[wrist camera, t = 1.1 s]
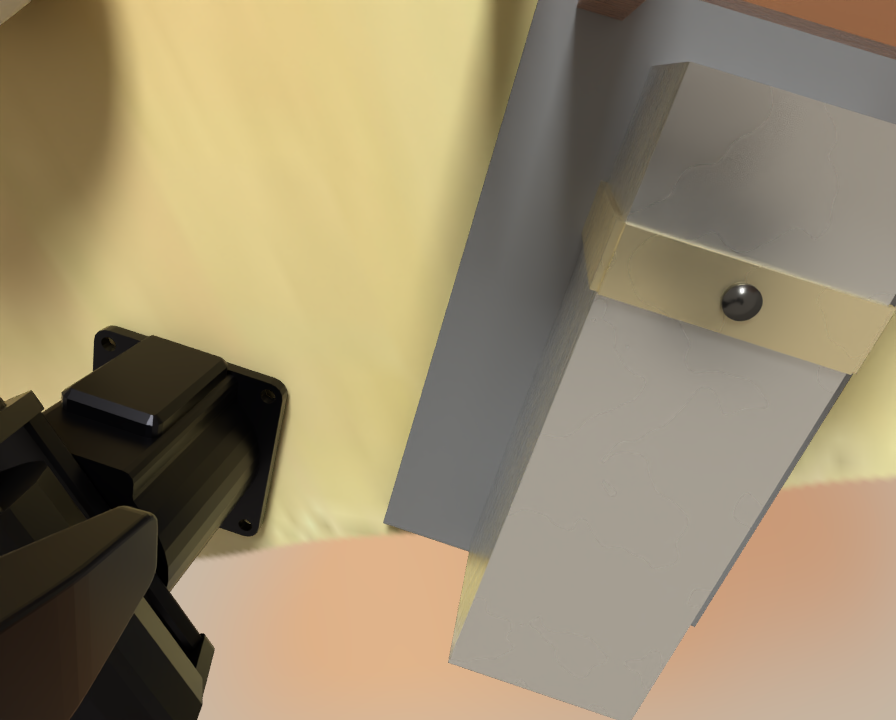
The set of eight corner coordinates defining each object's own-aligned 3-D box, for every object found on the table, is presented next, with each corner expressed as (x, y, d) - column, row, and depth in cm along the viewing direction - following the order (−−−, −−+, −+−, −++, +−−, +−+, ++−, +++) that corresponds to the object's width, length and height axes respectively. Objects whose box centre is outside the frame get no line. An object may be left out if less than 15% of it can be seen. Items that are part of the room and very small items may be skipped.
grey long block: (619, 589, 21) (636, 735, 17) (466, 538, 22) (440, 669, 17) (863, 130, 15) (1004, 156, 10) (644, 63, 15) (683, 57, 10)
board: (690, 608, 22) (694, 626, 22) (388, 508, 23) (383, 522, 22) (1178, -190, 13) (1215, -206, 12) (642, -344, 13) (647, -369, 12)
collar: (962, 125, 15) (1282, 163, 8) (576, 7, 15) (589, -45, 8) (989, 79, 14) (1348, 81, 8) (592, -42, 15) (618, -137, 8)
